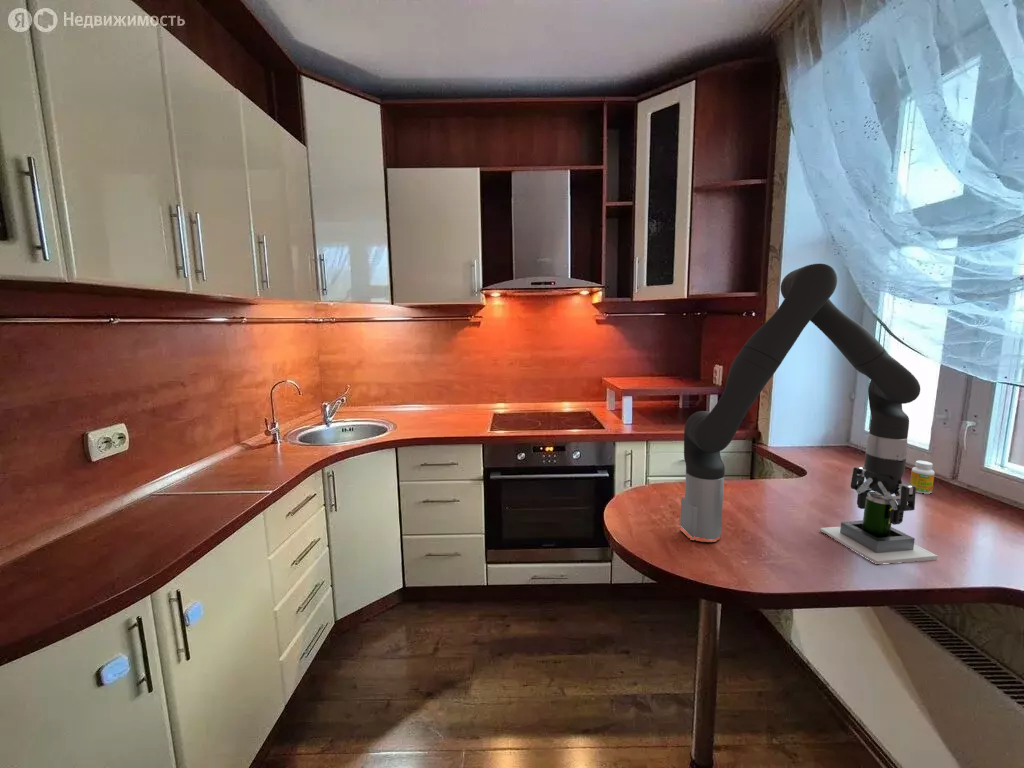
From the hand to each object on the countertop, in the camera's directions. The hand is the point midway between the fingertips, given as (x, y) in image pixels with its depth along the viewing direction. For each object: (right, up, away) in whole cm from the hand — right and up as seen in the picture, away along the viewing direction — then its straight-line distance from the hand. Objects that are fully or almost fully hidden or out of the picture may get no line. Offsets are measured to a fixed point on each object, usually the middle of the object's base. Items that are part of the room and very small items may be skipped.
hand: (878, 515), depth 107 cm
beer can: (0, -7, +1) cm, 7 cm away
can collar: (0, -8, +1) cm, 8 cm away
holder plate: (0, -8, +1) cm, 8 cm away
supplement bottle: (+42, -2, +33) cm, 53 cm away
